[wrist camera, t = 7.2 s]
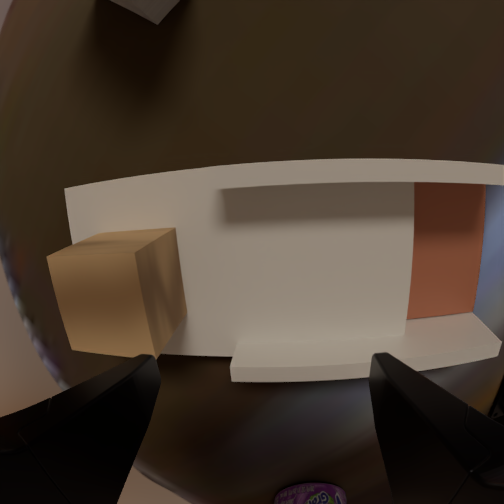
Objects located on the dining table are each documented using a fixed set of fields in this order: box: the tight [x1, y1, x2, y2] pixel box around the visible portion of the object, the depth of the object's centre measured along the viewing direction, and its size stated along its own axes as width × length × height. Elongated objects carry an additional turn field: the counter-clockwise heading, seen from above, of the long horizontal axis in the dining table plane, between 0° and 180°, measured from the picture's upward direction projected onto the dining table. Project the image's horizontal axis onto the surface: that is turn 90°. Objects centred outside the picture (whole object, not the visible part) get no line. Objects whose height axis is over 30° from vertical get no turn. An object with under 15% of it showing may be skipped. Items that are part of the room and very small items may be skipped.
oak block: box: [47, 227, 187, 359], centre depth 16 cm, size 5×5×5 cm
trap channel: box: [65, 159, 504, 382], centre depth 17 cm, size 11×26×4 cm, turn 94°
